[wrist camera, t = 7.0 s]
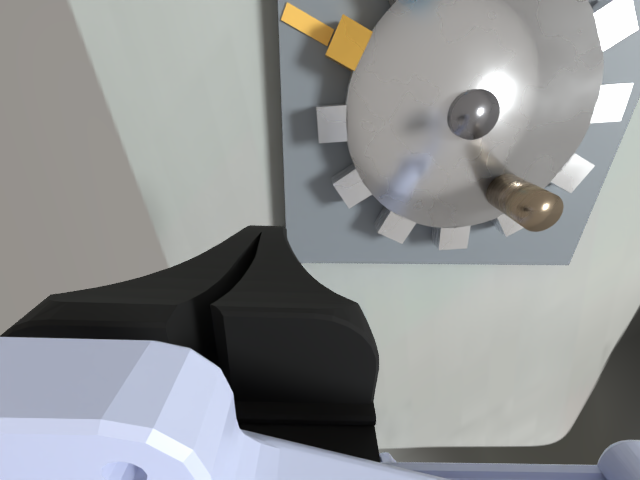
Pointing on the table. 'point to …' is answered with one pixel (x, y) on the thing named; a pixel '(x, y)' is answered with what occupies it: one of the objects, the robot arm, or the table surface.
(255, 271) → the robot arm
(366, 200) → the base plate
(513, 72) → the sprocket
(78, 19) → the table surface
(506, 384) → the table surface
